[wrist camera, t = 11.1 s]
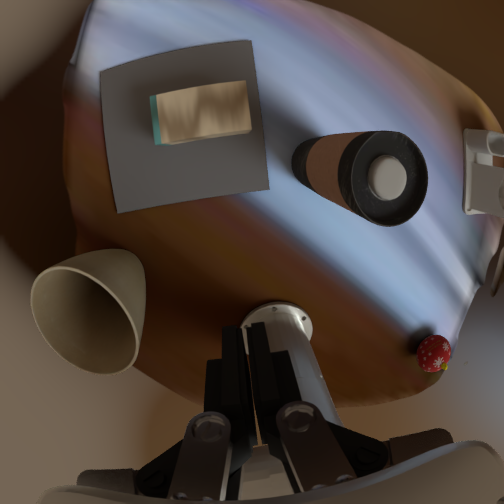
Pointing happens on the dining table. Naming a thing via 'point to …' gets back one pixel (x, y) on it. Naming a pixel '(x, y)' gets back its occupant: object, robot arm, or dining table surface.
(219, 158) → the rubber mat
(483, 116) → the dining table surface
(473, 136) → the phone holder
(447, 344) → the christmas ornament
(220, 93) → the maple block
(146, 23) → the dining table surface
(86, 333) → the plant pot
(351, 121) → the dining table surface
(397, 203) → the travel mug
